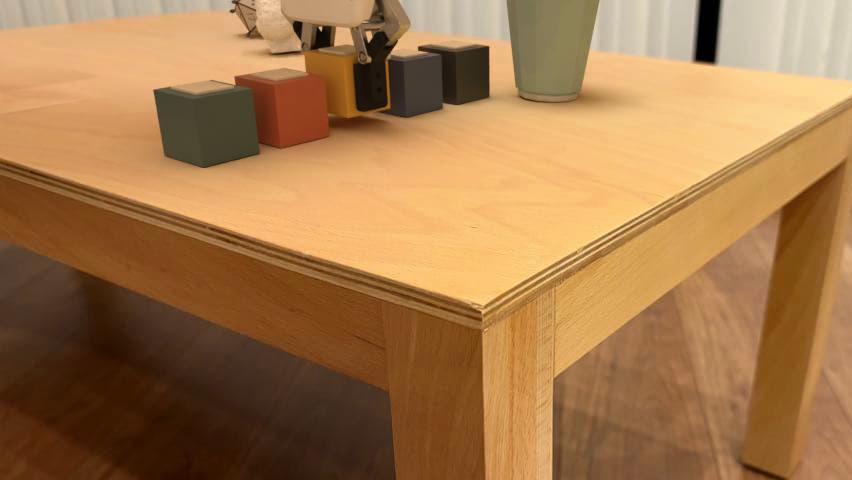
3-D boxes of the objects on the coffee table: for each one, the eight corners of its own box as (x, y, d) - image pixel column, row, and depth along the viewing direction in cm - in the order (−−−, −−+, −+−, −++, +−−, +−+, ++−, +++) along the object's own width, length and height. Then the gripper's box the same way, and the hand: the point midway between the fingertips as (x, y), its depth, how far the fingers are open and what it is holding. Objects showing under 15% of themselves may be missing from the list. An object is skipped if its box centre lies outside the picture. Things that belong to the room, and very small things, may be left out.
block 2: (281, 148, 68) (273, 81, 66) (241, 137, 70) (233, 73, 68) (329, 136, 71) (324, 72, 69) (290, 126, 74) (284, 65, 72)
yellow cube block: (348, 118, 73) (343, 55, 70) (309, 109, 75) (303, 48, 73) (390, 108, 76) (387, 48, 74) (352, 100, 79) (347, 42, 77)
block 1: (203, 167, 63) (192, 96, 60) (164, 155, 65) (152, 86, 63) (260, 153, 66) (251, 85, 64) (220, 142, 69) (211, 77, 67)
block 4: (457, 104, 83) (456, 49, 81) (419, 97, 86) (417, 44, 84) (489, 96, 87) (489, 43, 85) (452, 90, 89) (451, 38, 87)
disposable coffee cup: (522, 82, 94) (524, -67, 88) (616, 91, 91) (626, -63, 84) (482, 101, 85) (481, -64, 79) (585, 112, 82) (592, -59, 75)
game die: (275, 60, 124) (303, -1, 125) (281, 47, 116) (311, -19, 117) (214, 29, 121) (243, -34, 122) (216, 13, 113) (247, -54, 114)
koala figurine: (303, 45, 114) (294, -53, 108) (327, 52, 109) (319, -50, 104) (241, 51, 109) (229, -52, 103) (264, 58, 104) (251, -48, 99)
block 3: (406, 117, 78) (403, 59, 76) (367, 109, 81) (364, 52, 78) (443, 108, 82) (441, 52, 79) (405, 100, 84) (402, 46, 82)
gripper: (224, -129, 69) (253, 97, 77) (372, -129, 60) (387, 127, 68) (298, -126, 75) (318, 85, 83) (443, -126, 66) (450, 111, 74)
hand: (349, 102), depth 75 cm, fingers closed on yellow cube block, 5 cm apart
